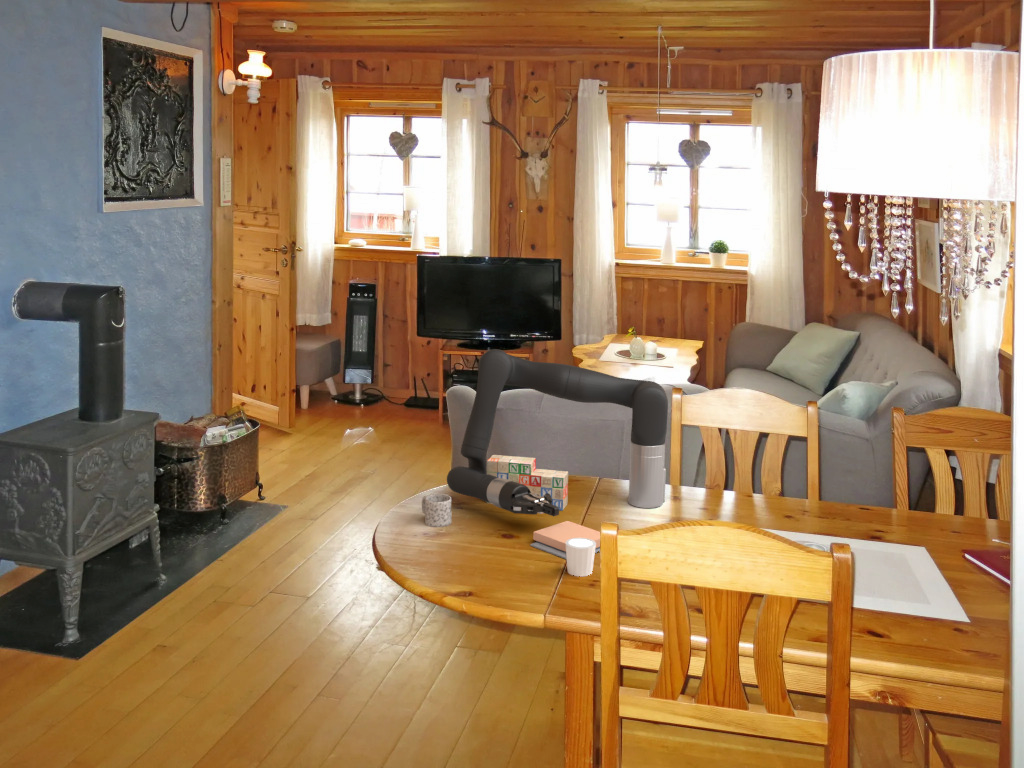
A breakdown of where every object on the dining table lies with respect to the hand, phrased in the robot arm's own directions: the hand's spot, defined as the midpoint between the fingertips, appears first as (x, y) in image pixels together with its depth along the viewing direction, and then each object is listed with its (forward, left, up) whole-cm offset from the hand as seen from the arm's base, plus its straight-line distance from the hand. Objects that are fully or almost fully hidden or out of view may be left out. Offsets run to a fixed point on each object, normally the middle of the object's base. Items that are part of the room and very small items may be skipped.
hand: (557, 511), depth 252 cm
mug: (+14, -30, -7) cm, 34 cm away
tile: (0, -2, -5) cm, 6 cm away
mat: (0, +6, -7) cm, 9 cm away
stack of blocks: (-14, -24, -7) cm, 29 cm away
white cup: (+11, +18, -7) cm, 22 cm away
